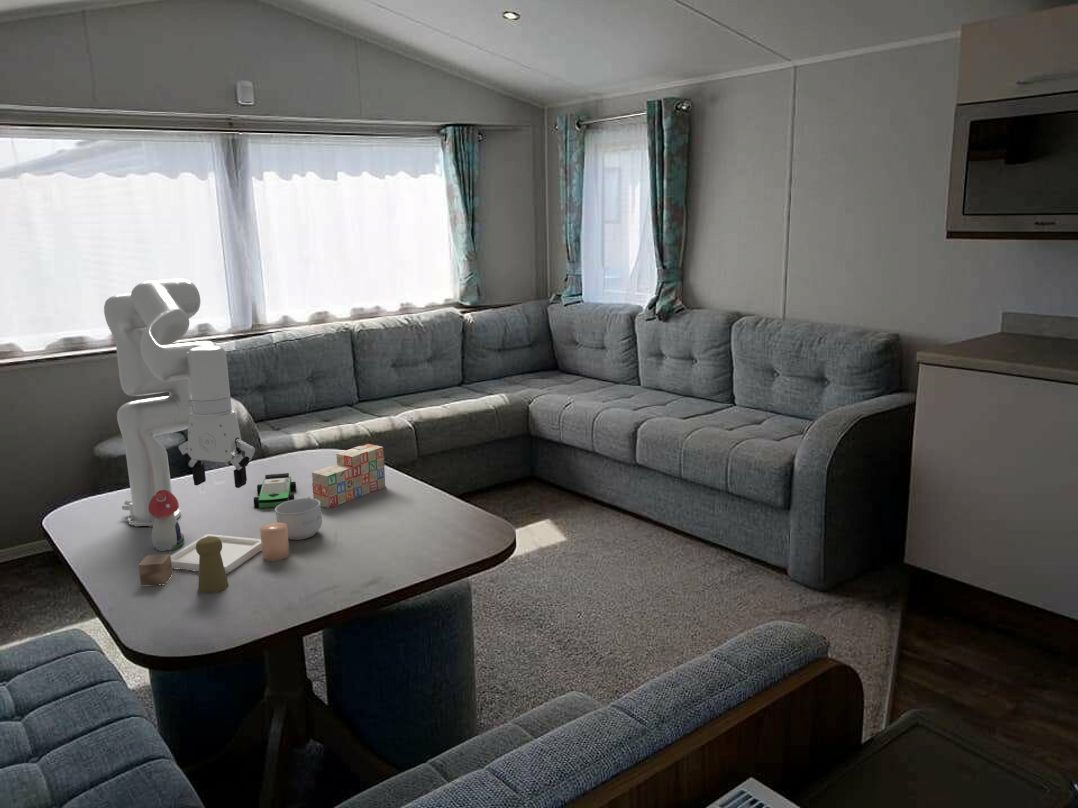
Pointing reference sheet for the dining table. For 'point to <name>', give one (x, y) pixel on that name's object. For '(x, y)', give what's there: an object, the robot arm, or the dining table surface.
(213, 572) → the cork
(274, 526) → the peach rounded cylinder
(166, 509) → the decorative ornament
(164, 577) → the walnut block
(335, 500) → the stack of blocks
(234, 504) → the dining table surface
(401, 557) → the dining table surface
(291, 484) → the toy car
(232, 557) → the tray
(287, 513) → the teacup
